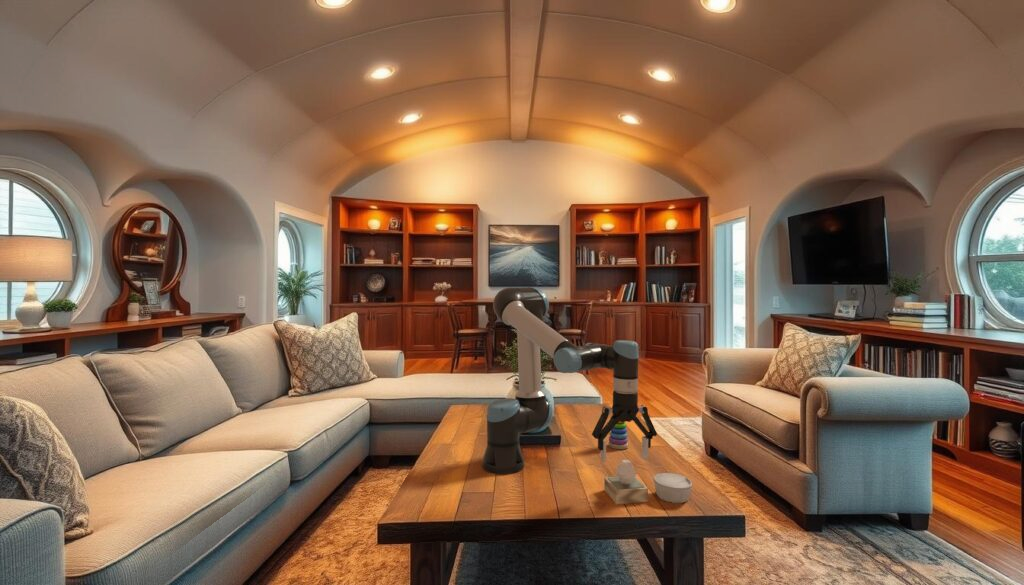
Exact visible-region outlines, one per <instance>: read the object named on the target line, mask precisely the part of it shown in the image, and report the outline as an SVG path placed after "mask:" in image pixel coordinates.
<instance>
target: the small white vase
mask: <svg viewBox="0 0 1024 585" xmlns="http://www.w3.org/2000/svg"><path fill="white" fill-rule="evenodd" d="M615 472H616V477H618V478H619V480H620V482H621V483H622V484H631V483H632V481H633V479H634V478H635V477H636V474H637V469H635V467H634V466H633V464H632V462H631V461H630V460H628V459H623V460H620V463H619V465H618V466H617V467H616V468H615Z"/></svg>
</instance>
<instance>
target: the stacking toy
mask: <svg viewBox="0 0 1024 585" xmlns="http://www.w3.org/2000/svg"><path fill="white" fill-rule="evenodd" d="M612 406H613V404H612ZM612 416H613V413H612ZM627 431H628V429H627V424H626V421H625V422H621V421H619V422H618V423H617V424H616V425H615V426H614V427H613V429H612V430H611V431H610V432H609V437H608V441H609V442H608V446H609V448H610V449H611V448H612V449H615V450H625V449H627V448H629V443H628V433H627Z"/></svg>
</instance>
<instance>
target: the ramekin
mask: <svg viewBox="0 0 1024 585" xmlns="http://www.w3.org/2000/svg"><path fill="white" fill-rule="evenodd" d="M653 482H654V488H655V494H656V495H657V497H658V498H659V499H660V500H662V501H664V502H667V503H670V502H672V504H684V503H686V502H688V500H689V499H690V496H691V492H692V491H691V490H692V487H693V482H692V480H691V479H689V478H688V477H686V476H684V475H681V474H677V473H674V472H673V473H669V472H662V473H657V474H655V475H654V476H653ZM683 502H684V503H683Z"/></svg>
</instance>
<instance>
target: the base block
mask: <svg viewBox="0 0 1024 585" xmlns="http://www.w3.org/2000/svg"><path fill="white" fill-rule="evenodd" d="M603 479H604V484H603V485H604V487H603V489H604V490H603V491H604V492H605V493H606V494H607V495H608V496H609V497H610V499H611V500H612V501H613V502H614V504H615V505H623V504H634V503H635V504H636V503H639V504H640V503H648V502H649V488H648V487H647V486H646V485H645V484H644V483H643V482H642V481H641V480H640V479H638V478H637V476H635V478H634V479H633V481H632V483H631V484H622V483H621V482H620V480H619V478H618V476H609V477H608V476H605V477H603Z"/></svg>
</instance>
